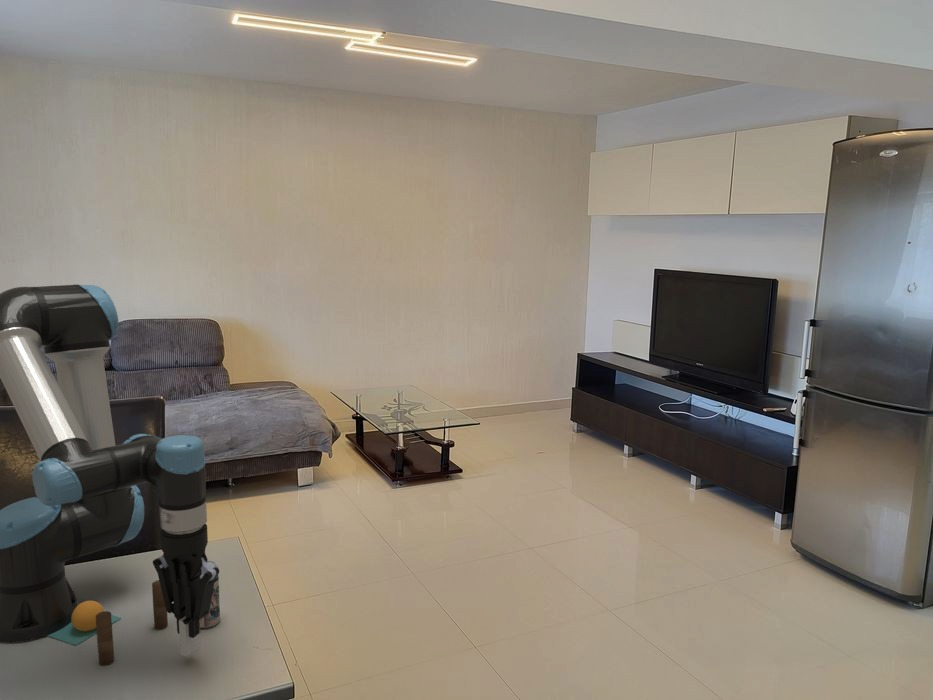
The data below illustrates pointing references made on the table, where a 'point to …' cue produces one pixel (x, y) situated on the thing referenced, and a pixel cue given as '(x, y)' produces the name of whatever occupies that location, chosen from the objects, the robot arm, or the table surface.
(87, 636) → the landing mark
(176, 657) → the table surface
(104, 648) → the post
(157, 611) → the post
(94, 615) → the ball
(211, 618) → the beer can
